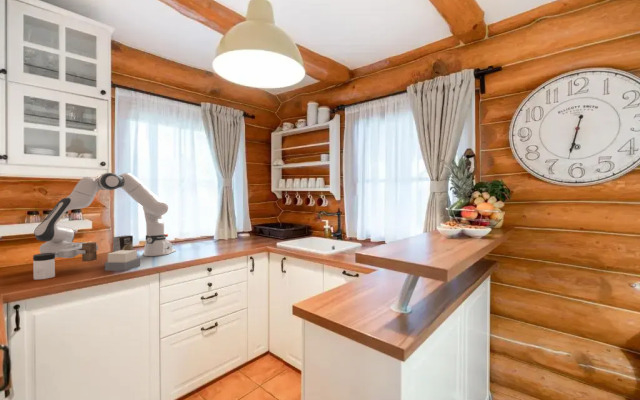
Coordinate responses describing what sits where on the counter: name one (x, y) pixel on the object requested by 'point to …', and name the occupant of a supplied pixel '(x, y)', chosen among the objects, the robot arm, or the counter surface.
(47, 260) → the jar
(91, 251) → the walnut block
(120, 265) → the tower base
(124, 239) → the coffee box
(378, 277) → the counter surface
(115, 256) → the tower top
